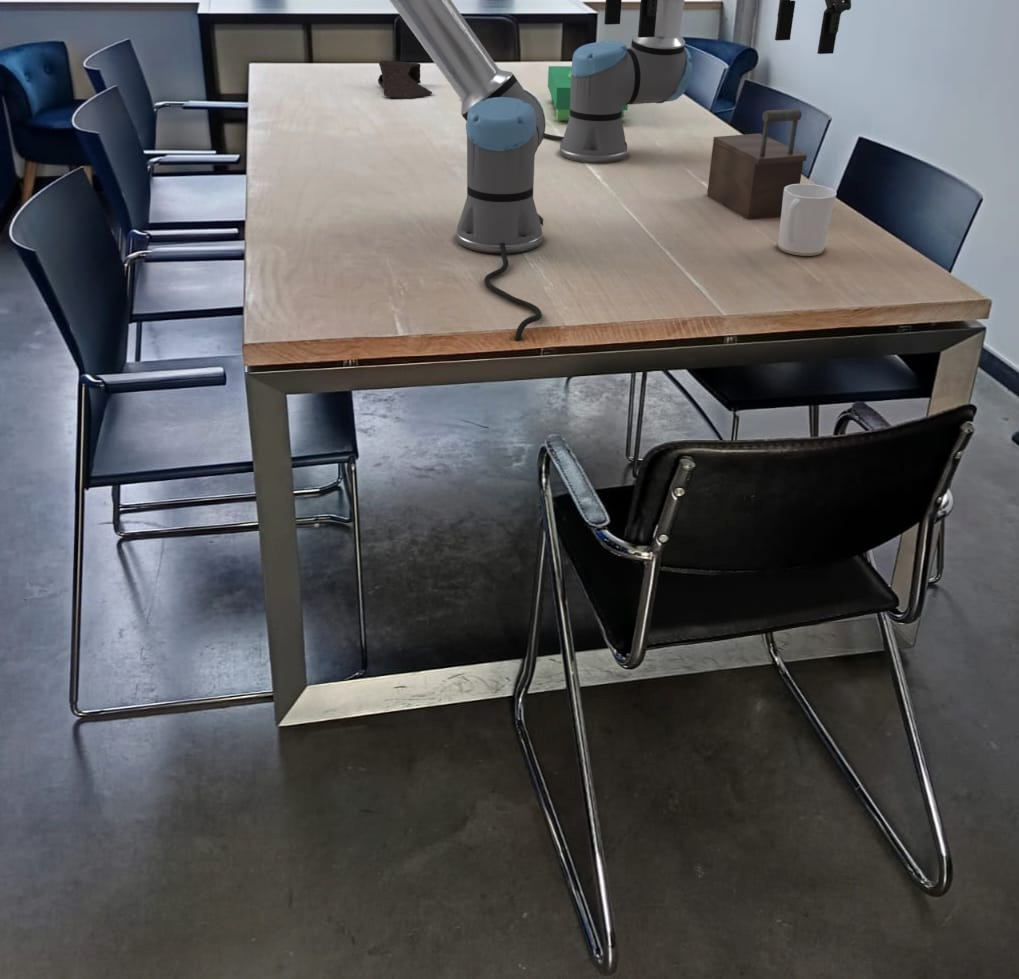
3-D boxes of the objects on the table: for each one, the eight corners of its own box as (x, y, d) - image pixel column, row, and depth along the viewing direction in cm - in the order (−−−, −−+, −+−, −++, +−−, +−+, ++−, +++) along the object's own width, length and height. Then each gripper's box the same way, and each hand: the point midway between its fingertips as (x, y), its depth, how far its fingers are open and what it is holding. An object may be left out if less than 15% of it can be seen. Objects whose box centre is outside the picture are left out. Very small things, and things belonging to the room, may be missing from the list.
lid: (806, 160, 206) (814, 111, 201) (757, 165, 203) (764, 114, 198) (759, 138, 220) (765, 91, 215) (713, 142, 217) (718, 94, 212)
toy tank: (612, 47, 295) (630, 72, 266) (608, 94, 302) (626, 124, 272) (547, 45, 295) (557, 71, 265) (545, 93, 301) (555, 123, 271)
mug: (789, 236, 200) (798, 180, 195) (834, 247, 195) (845, 190, 190) (760, 251, 193) (769, 193, 188) (807, 263, 188) (817, 204, 183)
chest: (795, 214, 212) (803, 159, 207) (747, 219, 209) (755, 164, 204) (752, 191, 225) (759, 139, 220) (706, 195, 222) (712, 142, 217)
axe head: (443, 87, 294) (392, 77, 287) (436, 115, 299) (385, 106, 292) (421, 62, 307) (371, 52, 300) (414, 89, 311) (365, 80, 304)
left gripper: (696, -106, 168) (682, 41, 179) (626, -115, 187) (617, 18, 199) (652, -106, 165) (640, 43, 176) (586, -116, 185) (579, 19, 196)
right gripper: (888, -84, 173) (863, 58, 184) (801, -95, 193) (783, 34, 204) (848, -84, 171) (825, 60, 182) (764, -95, 191) (748, 35, 202)
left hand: (628, 30), depth 187 cm, fingers open, 13 cm apart
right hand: (803, 46), depth 193 cm, fingers open, 13 cm apart
